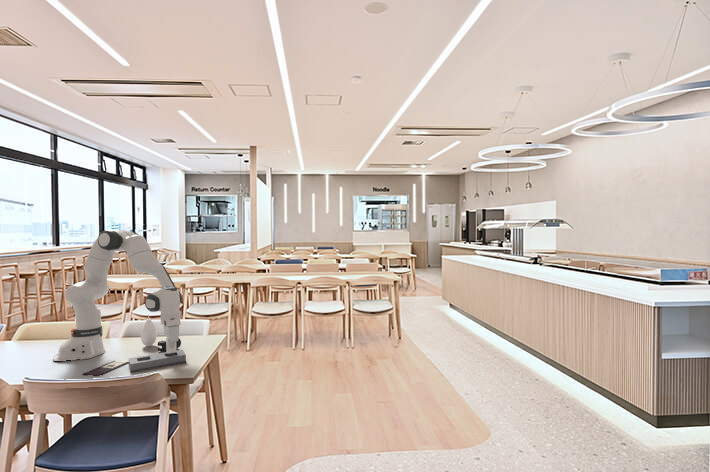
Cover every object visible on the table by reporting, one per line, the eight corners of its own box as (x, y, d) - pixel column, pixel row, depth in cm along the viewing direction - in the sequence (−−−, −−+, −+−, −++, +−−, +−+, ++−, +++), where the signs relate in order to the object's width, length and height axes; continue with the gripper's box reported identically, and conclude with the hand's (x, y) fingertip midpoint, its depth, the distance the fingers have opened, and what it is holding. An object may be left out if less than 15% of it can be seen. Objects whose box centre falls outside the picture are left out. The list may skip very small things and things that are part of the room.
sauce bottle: (138, 347, 220) (137, 315, 219) (148, 343, 227) (147, 312, 227) (149, 348, 218) (149, 316, 218) (160, 344, 226) (159, 313, 225)
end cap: (167, 355, 207) (167, 342, 207) (156, 354, 209) (156, 341, 209) (181, 349, 217) (181, 337, 217) (171, 348, 219) (170, 336, 219)
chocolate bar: (82, 373, 180) (114, 360, 197) (82, 375, 180) (114, 362, 197) (98, 375, 178) (129, 361, 196) (98, 377, 178) (129, 363, 196)
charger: (167, 353, 193) (167, 339, 193) (166, 351, 197) (166, 337, 196) (176, 352, 196) (176, 338, 195) (175, 350, 199) (174, 336, 199)
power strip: (130, 372, 182) (130, 364, 182) (128, 366, 190) (128, 358, 190) (186, 362, 195) (185, 354, 195) (182, 357, 204) (182, 349, 203)
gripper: (160, 316, 203) (161, 342, 203) (166, 324, 185) (167, 353, 186) (173, 314, 206) (174, 340, 206) (181, 322, 189) (181, 350, 189)
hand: (171, 346), depth 196 cm, fingers closed on charger, 4 cm apart
